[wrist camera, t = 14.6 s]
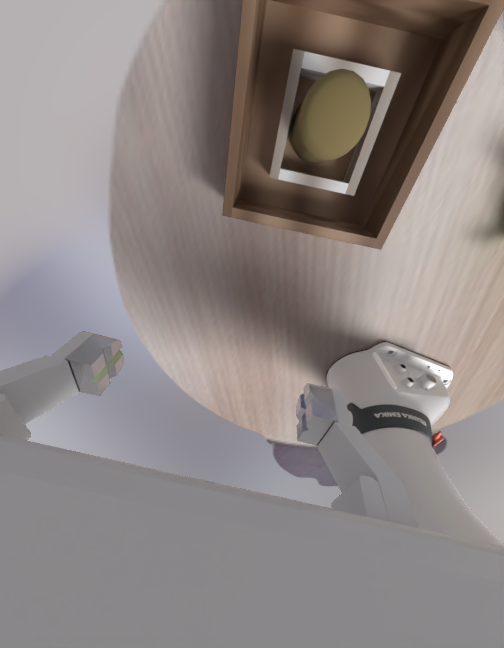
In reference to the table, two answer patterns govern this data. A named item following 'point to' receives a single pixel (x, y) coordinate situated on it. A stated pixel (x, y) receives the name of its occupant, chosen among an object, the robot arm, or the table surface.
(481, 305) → the table surface
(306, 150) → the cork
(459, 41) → the walled box
